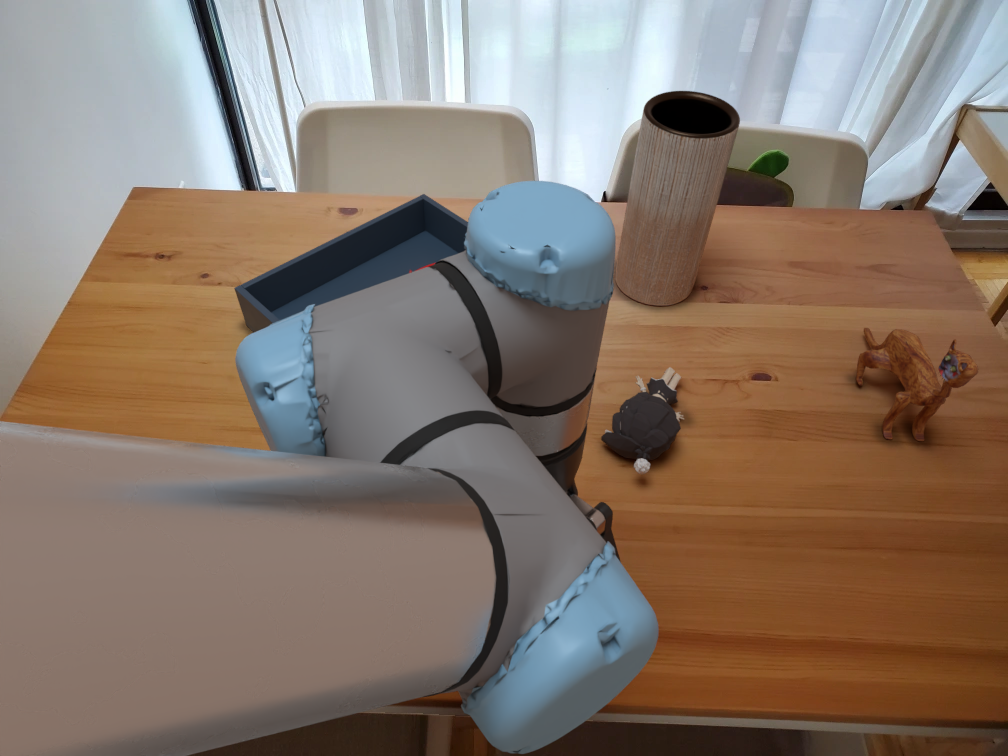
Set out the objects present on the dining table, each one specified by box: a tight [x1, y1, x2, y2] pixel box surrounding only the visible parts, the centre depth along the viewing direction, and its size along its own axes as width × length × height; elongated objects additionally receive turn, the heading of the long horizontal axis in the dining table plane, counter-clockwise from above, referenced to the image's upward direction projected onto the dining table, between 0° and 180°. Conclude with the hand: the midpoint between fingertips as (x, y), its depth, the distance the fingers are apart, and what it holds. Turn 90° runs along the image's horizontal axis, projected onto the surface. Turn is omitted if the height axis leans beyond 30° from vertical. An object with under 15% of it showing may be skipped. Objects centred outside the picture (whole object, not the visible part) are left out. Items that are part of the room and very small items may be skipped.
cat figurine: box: [855, 327, 980, 442], centre depth 75 cm, size 18×7×14 cm, turn 177°
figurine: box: [600, 366, 685, 475], centre depth 73 cm, size 7×6×15 cm
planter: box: [614, 90, 741, 306], centre depth 83 cm, size 10×10×23 cm
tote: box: [234, 193, 468, 333], centre depth 83 cm, size 28×24×6 cm
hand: (518, 572), depth 62 cm, fingers open, 12 cm apart
